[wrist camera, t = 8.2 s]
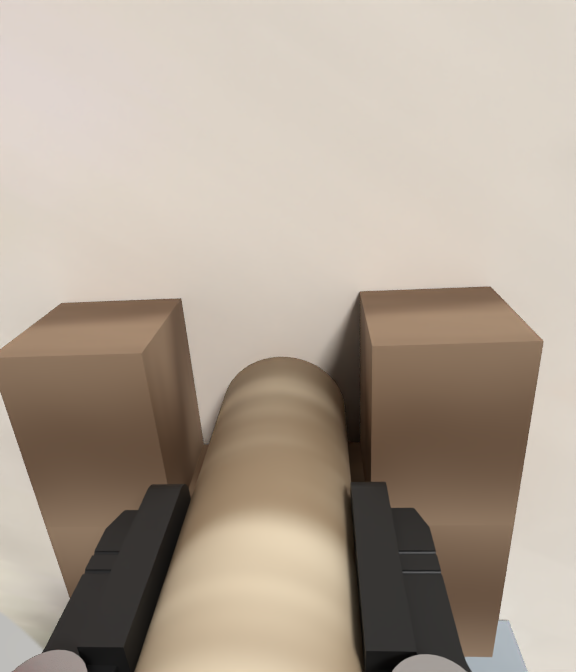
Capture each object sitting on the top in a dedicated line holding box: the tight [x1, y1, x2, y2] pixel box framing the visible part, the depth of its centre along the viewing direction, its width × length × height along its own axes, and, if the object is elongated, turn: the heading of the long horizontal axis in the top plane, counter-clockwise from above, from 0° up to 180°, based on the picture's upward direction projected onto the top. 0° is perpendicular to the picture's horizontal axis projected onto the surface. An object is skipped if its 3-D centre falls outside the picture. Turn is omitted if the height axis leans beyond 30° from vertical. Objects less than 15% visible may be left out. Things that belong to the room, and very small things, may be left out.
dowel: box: [134, 357, 365, 672], centre depth 9 cm, size 4×4×12 cm
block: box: [0, 287, 543, 657], centre depth 14 cm, size 10×12×4 cm
